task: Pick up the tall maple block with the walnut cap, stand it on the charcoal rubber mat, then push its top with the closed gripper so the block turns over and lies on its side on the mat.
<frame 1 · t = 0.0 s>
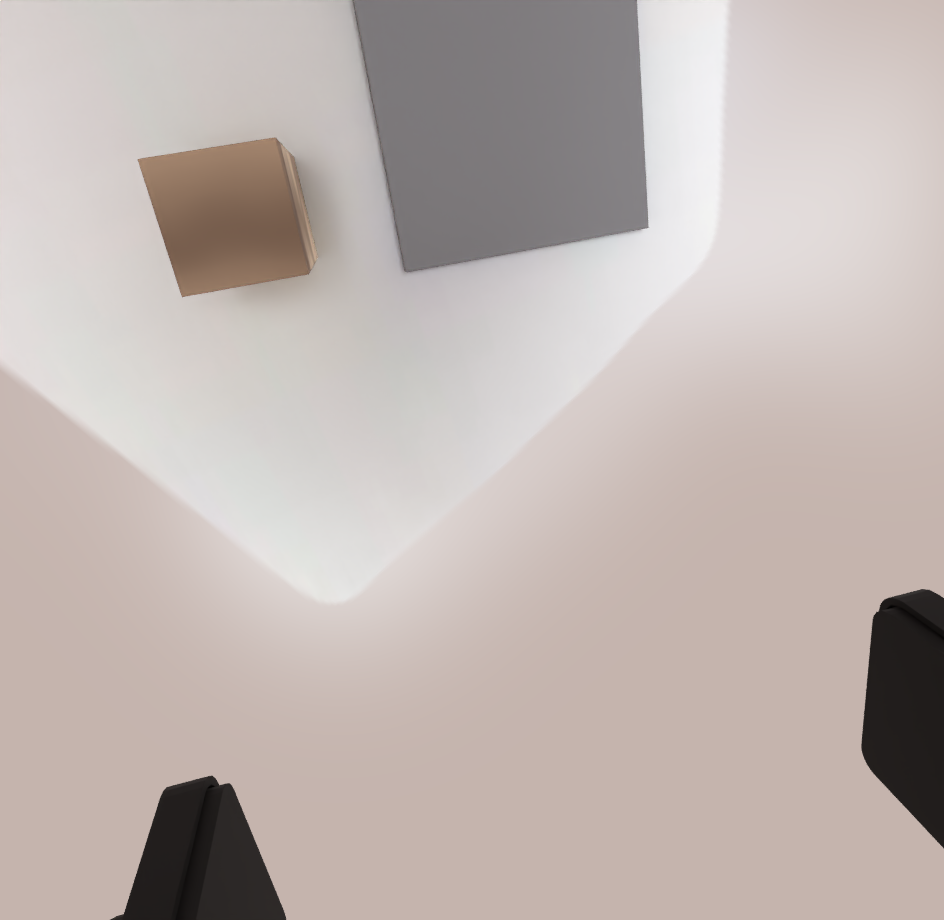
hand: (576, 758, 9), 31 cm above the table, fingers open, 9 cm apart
mat: (498, 23, 33), on the table
maple block: (258, 216, 34), on the table
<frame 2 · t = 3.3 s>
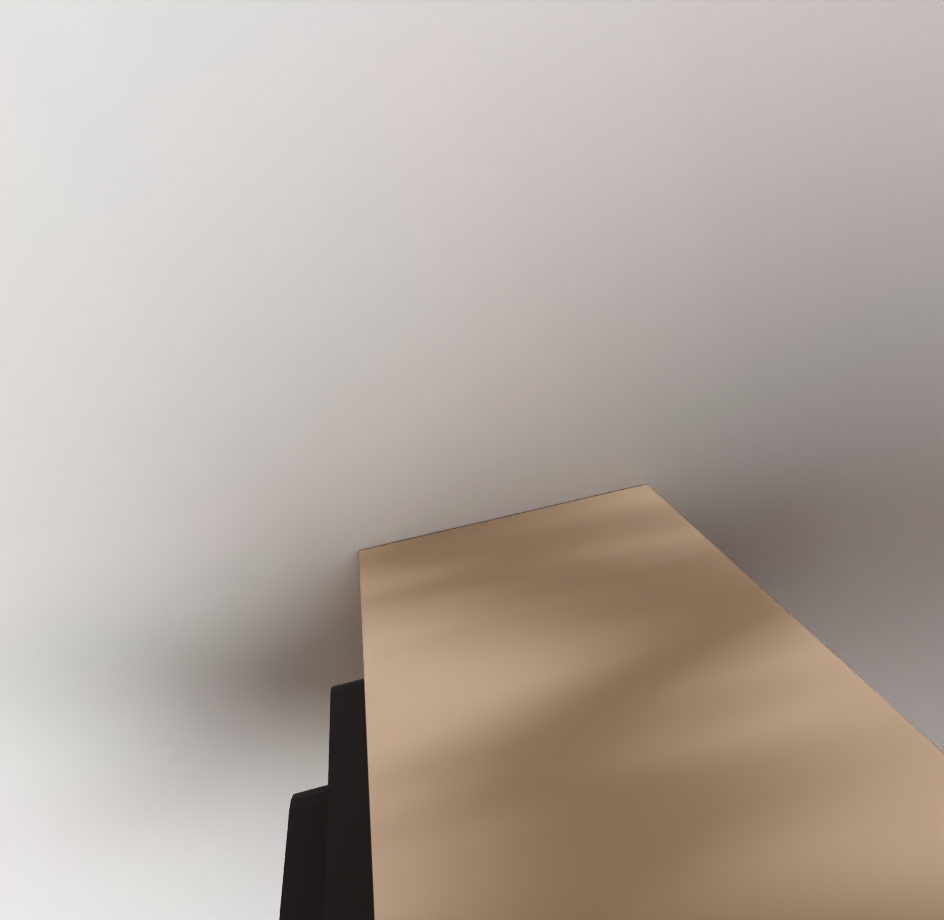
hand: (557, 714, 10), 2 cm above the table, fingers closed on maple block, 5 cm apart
maple block: (525, 637, 12), on the table, touching gripper
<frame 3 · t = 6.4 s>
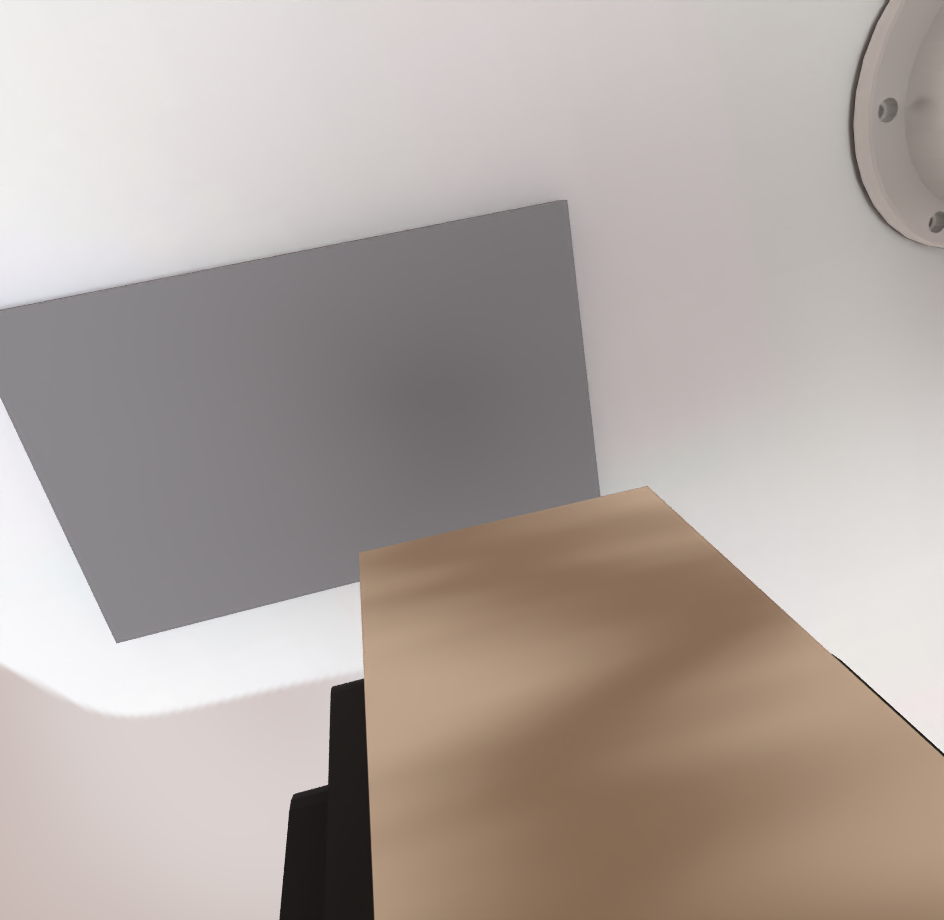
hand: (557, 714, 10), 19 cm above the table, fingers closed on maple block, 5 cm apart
mat: (329, 426, 27), on the table
maple block: (525, 639, 12), point 17 cm above the table, touching gripper
when the fingers open (4 cm above the table, at t = 9.8 s): maple block stays where it is, resting on mat.
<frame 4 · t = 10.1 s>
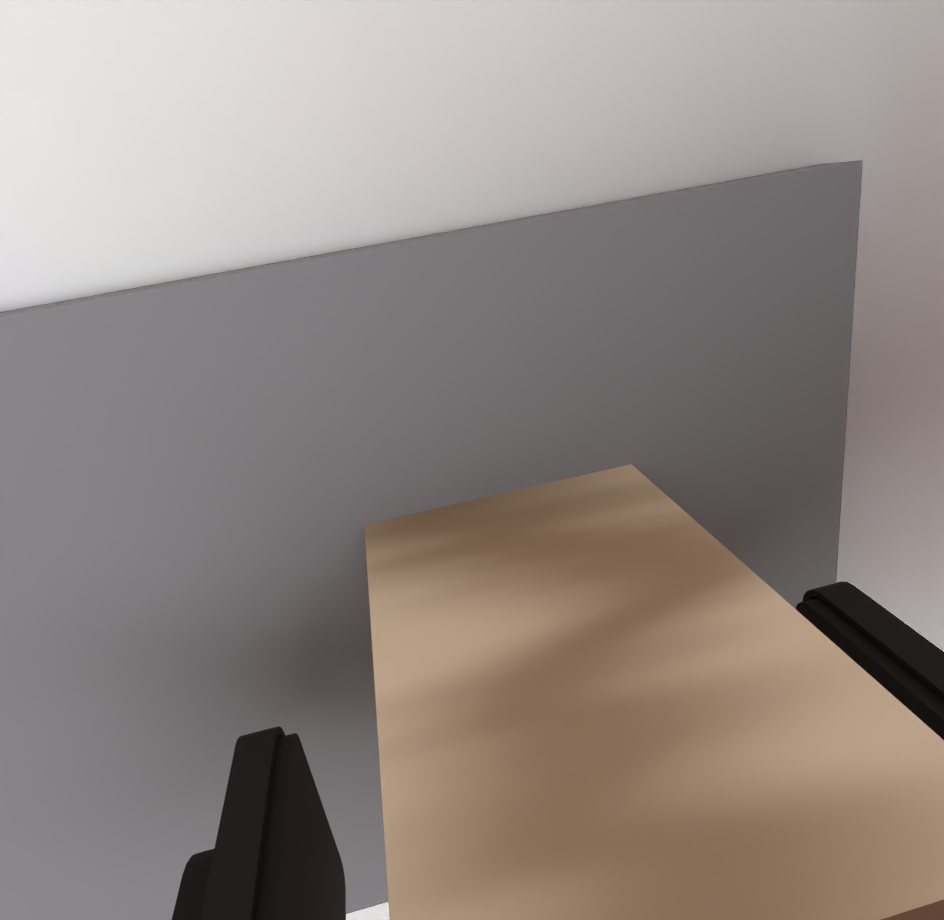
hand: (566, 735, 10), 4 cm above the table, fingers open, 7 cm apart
mat: (310, 627, 13), on the table
maple block: (519, 607, 13), point 1 cm above the table, touching mat
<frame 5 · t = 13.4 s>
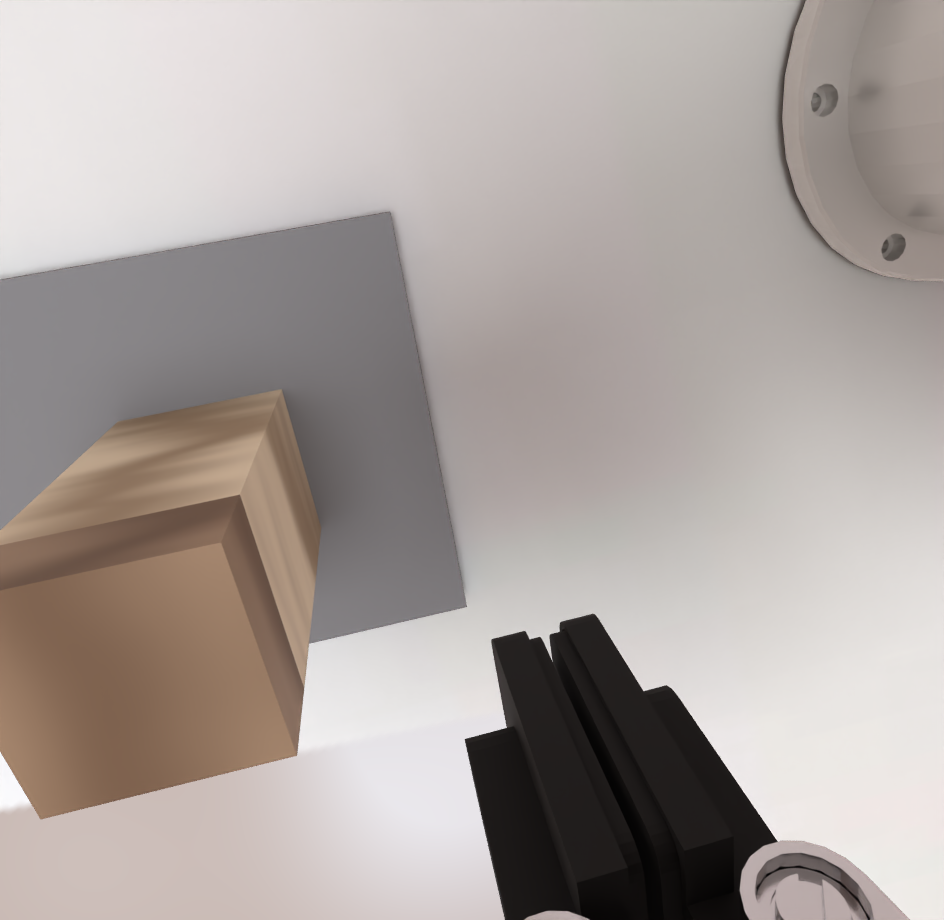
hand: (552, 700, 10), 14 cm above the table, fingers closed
mat: (105, 491, 22), on the table
maple block: (225, 477, 21), point 1 cm above the table, touching mat
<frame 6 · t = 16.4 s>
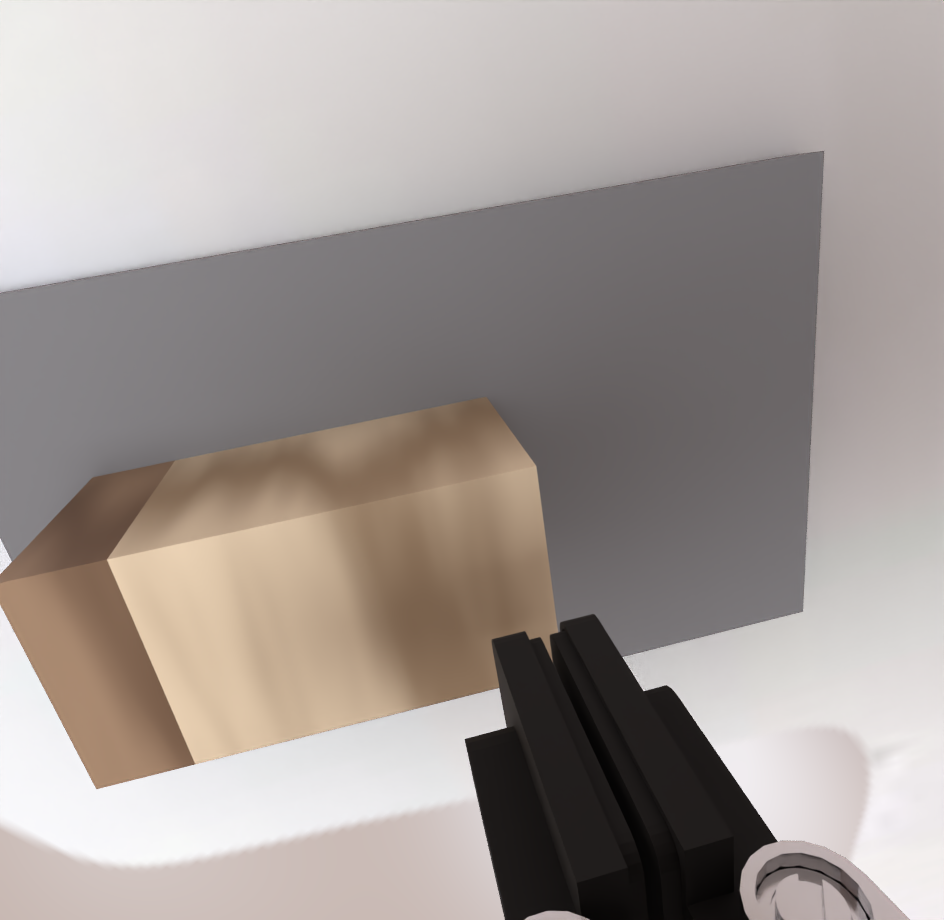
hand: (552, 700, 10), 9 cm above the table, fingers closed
mat: (438, 480, 19), on the table
maple block: (521, 522, 16), point 3 cm above the table, tilted 90°, touching mat
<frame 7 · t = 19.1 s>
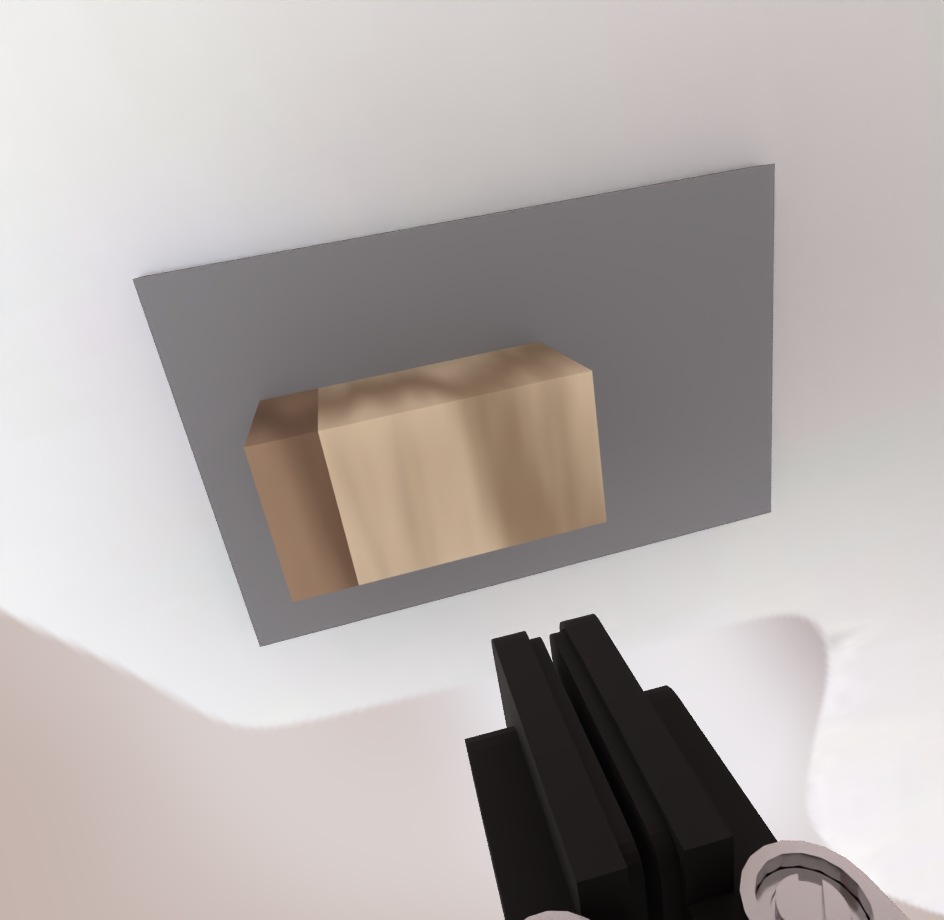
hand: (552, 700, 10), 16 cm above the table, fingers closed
mat: (499, 408, 25), on the table
maple block: (570, 426, 22), point 3 cm above the table, tilted 90°, touching mat
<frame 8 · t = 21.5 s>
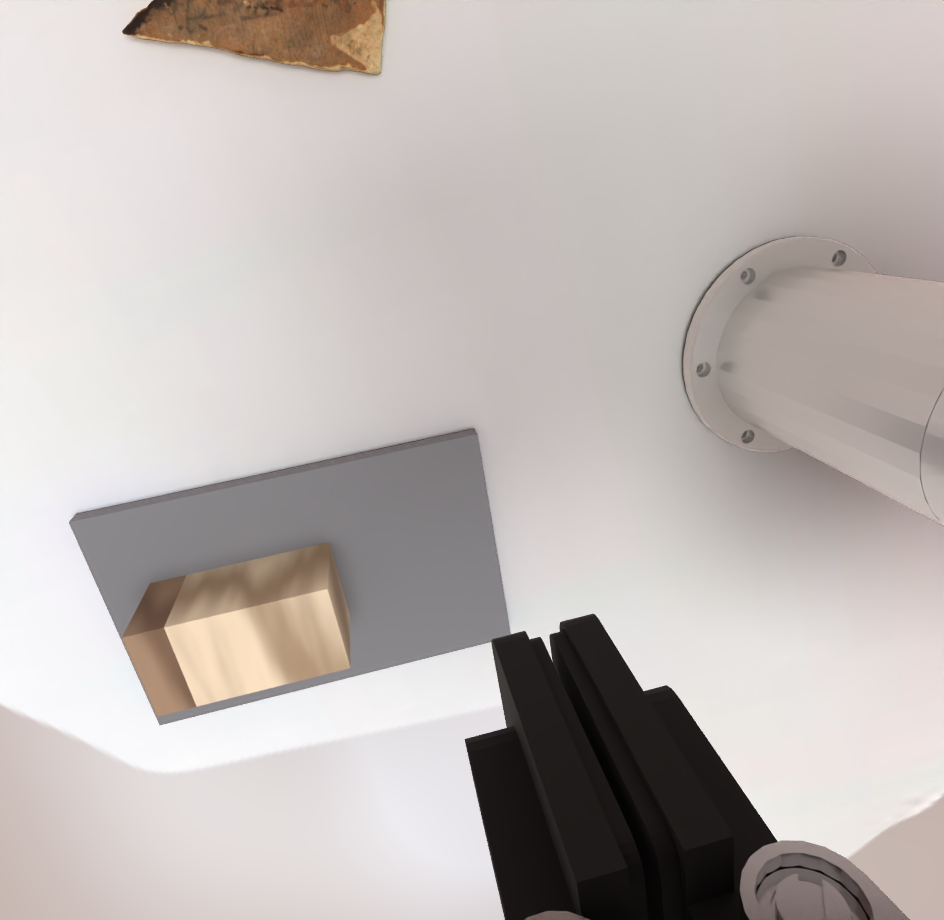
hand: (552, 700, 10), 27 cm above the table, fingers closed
mat: (313, 576, 39), on the table
shard: (293, 20, 30), on the table
maple block: (339, 602, 36), point 3 cm above the table, tilted 90°, touching mat
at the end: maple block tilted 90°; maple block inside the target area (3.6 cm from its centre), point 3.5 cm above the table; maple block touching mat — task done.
